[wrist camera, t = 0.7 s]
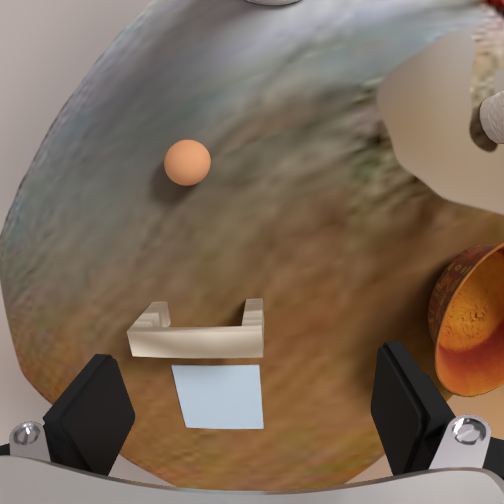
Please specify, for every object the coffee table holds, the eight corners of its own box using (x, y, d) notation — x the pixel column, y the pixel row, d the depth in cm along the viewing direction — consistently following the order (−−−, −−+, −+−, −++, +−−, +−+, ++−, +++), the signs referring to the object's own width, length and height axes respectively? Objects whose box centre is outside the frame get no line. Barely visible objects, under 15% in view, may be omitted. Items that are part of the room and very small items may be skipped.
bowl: (528, 299, 38) (565, 322, 28) (436, 385, 41) (462, 423, 32) (487, 192, 35) (535, 200, 25) (376, 291, 38) (406, 325, 29)
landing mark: (171, 364, 42) (171, 365, 42) (259, 364, 41) (259, 365, 41) (186, 426, 45) (186, 427, 44) (263, 427, 44) (263, 428, 44)
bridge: (152, 301, 40) (126, 331, 31) (262, 298, 39) (261, 330, 31) (156, 322, 41) (132, 356, 32) (264, 320, 40) (263, 357, 31)
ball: (170, 144, 35) (156, 140, 31) (212, 139, 35) (204, 134, 30) (173, 187, 37) (159, 188, 32) (215, 183, 36) (207, 183, 31)
